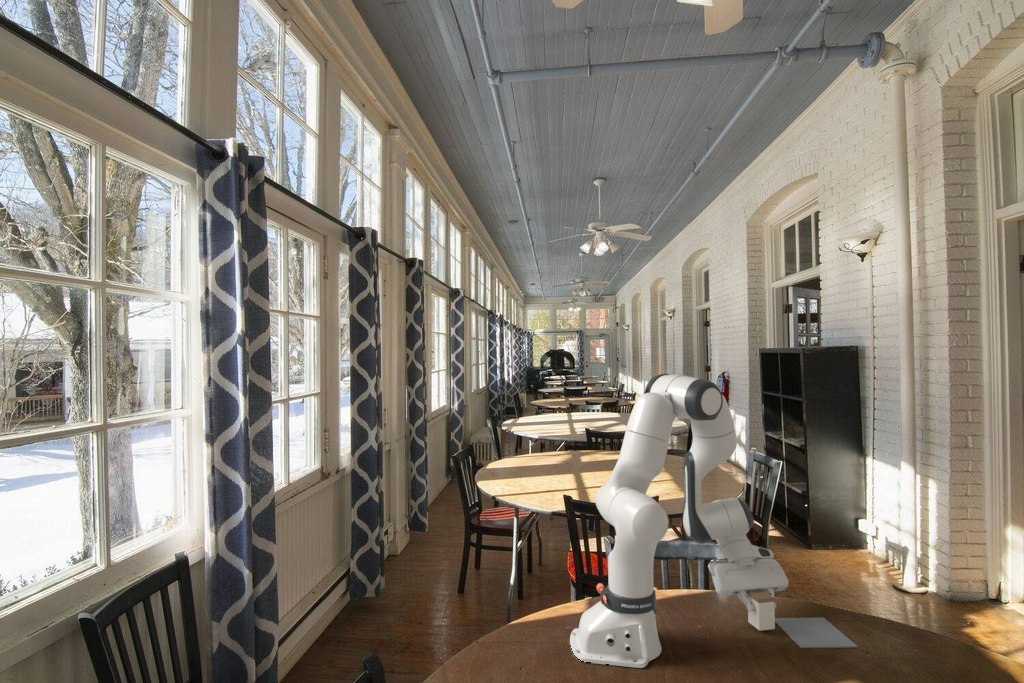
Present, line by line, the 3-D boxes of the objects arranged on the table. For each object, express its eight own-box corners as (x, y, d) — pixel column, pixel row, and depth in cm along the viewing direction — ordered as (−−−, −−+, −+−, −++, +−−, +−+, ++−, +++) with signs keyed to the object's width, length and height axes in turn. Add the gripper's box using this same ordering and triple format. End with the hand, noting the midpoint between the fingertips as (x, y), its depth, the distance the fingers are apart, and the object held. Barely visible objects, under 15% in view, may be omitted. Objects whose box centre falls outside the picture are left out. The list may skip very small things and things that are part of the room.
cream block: (759, 630, 134) (758, 599, 134) (748, 621, 138) (747, 591, 139) (774, 629, 135) (774, 597, 135) (763, 620, 139) (763, 590, 140)
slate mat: (800, 648, 128) (800, 646, 128) (772, 619, 142) (772, 618, 142) (857, 647, 128) (857, 646, 128) (823, 618, 142) (823, 617, 142)
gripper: (709, 555, 142) (731, 608, 132) (776, 550, 146) (802, 601, 136) (701, 565, 146) (721, 617, 136) (766, 560, 150) (791, 610, 140)
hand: (762, 609), depth 136 cm, fingers closed on cream block, 4 cm apart
